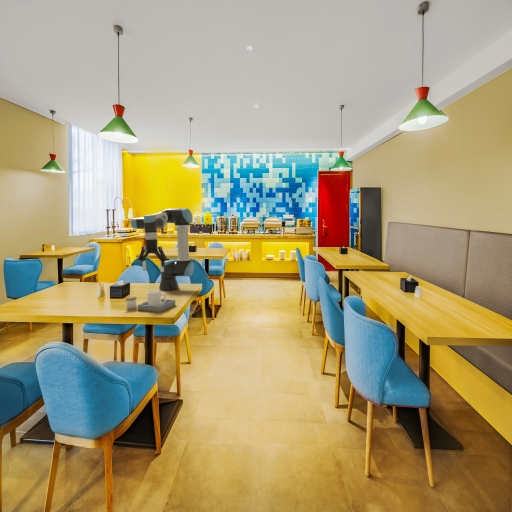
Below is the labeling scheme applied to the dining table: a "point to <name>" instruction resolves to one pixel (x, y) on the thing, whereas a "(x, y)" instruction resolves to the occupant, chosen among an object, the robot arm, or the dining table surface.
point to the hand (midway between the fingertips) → (153, 271)
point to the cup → (155, 298)
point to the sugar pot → (131, 302)
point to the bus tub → (161, 308)
